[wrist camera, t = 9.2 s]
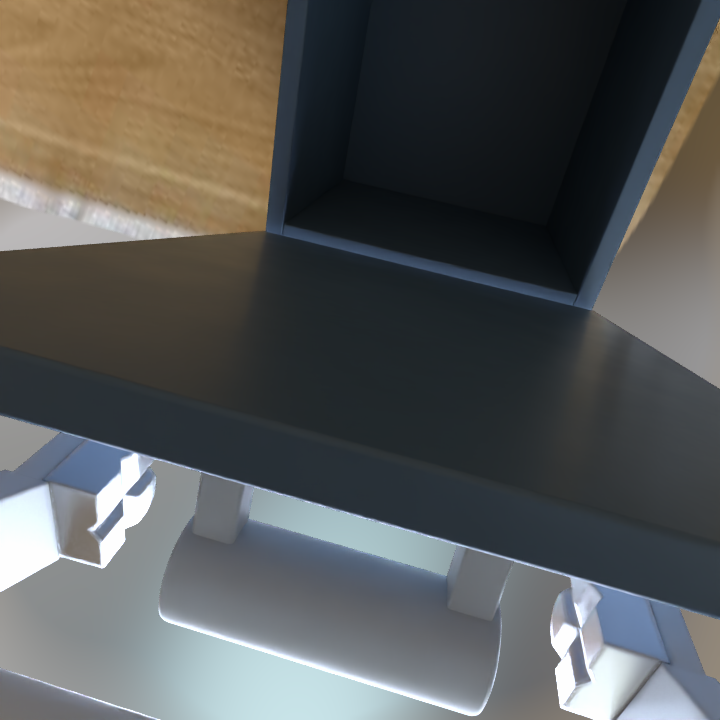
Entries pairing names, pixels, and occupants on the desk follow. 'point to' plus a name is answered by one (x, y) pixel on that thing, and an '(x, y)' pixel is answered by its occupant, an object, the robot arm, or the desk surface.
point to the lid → (370, 441)
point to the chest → (479, 131)
